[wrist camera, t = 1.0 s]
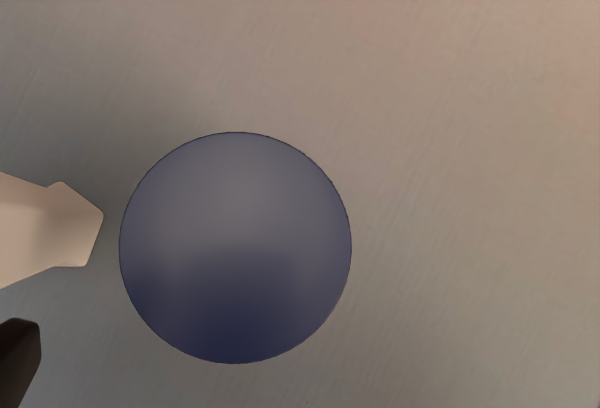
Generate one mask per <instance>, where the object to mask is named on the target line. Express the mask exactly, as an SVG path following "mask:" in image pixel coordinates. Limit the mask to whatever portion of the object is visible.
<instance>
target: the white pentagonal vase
mask: <svg viewBox="0 0 600 408" xmlns="http://www.w3.org/2000/svg"><path fill="white" fill-rule="evenodd" d="M103 218H104V215H103V212H102V211H101V210H100V209H98V208H97V207H96V206H94V205H93V204H92V203H90V202H89V201H88V200H86V199H85V198H84V197H82V196H81V195H80V194H78V193H77V192H76V191H74V190H73V189H72V188H70V187H69V186H68V185H66V184H65V183H63V182H56V183H54V184H52V185H50V186H48V187H46V188H45V187H42V186H39V185H36V184H33V183H30V182H28V181H25V180H22V179H19V178H16V177H13V176H10V175H8V174H5V173H2V172H0V289H1V288H3V287H6V286H8V285H10V284H13V283H15V282H18V281H20V280H22V279H25V278H27V277H29V276H32V275H34V274H37V273H39V272H41V271H44V270H46V269H48V268H51V267H53V266H63V267H81V266H84V265H86V263H87V262H88V259H89V256H90V254H91V251H92V248H93V246H94V243H95V240H96V238H97V235H98V232H99V230H100V227H101V224H102V222H103Z"/></svg>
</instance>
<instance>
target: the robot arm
mask: <svg viewBox="0 0 600 408" xmlns="http://www.w3.org/2000/svg"><path fill="white" fill-rule="evenodd" d="M40 361H41V343H40V330H39V326H38V324H37V323H35V322H33V321H29V320H25V319H21V318H11V319H8V320H6V321H5V322H3V323H1V324H0V408H18V407H19V405H20V403H21V401H22V399H23V397H24V395H25V393H26V391H27V389H28V387H29V385H30V383H31V381H32V379H33V377H34V375H35V373H36V371H37V369H38V367H39V364H40Z"/></svg>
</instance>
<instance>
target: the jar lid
mask: <svg viewBox="0 0 600 408" xmlns="http://www.w3.org/2000/svg"><path fill="white" fill-rule="evenodd" d="M351 254H352V245H351V232H350V225H349V220H348V216H347V213H346V210H345V207H344V205H343V202H342V200H341V198H340V195H339V194H338V192H337V190H336V189H335V187H334V185H333V183H332V181H331V180H330V179H329V178H328V177H327V175H326V174H325V173H324V172H323V170H322V169H321V168H320V167H319V166H318V165H317V164H316V163H315V162H314V161H312V160H311V159H310V158H309V157H307V156H306V155H305V154H304V153H302V152H301V151H299V150H298V149H296V148H294V147H292V146H290V145H289V144H287V143H285V142H282V141H280V140H277V139H275V138H272V137H270V136H264V135H261V134H255V133H247V132H225V133H217V134H211V135H208V136H204V137H200V138H197V139H195V140H192V141H190V142H187V143H185V144H183V145H181V146H180V147H178V148H176V149H174V150H173V151H171V152H170V153H168V154H167V155H166V156H164V157H163V158H162V159H160V160H159V161H158V162H157V163H156V164H155V165H154V166H153V167H152V168H151V169H150V170H149V171H148V172H147V173H146V175H145V176H144V177H143V178H142V180H141V181H140V182H139V184H138V185H137V187H136V189H135V191H134V192H133V194H132V196H131V198H130V200H129V202H128V205H127V207H126V210H125V212H124V216H123V220H122V223H121V228H120V236H119V262H120V269H121V274H122V278H123V281H124V285H125V288H126V290H127V293H128V295H129V297H130V300H131V302H132V303H133V305H134V307H135V308H136V310H137V312H138V313H139V315H140V316H141V317H142V319H143V320H144V321H145V322H146V324H147V325H148V326H149V327H150V328H151V329H152V330H153V331H154V332H155V333H156V334H157V335H158V336H159V337H160V338H162V339H163V340H164V341H166V342H167V343H169V344H170V345H171V346H173V347H175V348H177V349H178V350H180V351H182V352H184V353H186V354H188V355H191V356H194V357H196V358H199V359H202V360H207V361H211V362H215V363H226V364H245V363H252V362H258V361H263V360H266V359H269V358H272V357H276V356H278V355H280V354H282V353H285V352H287V351H289V350H291V349H292V348H294V347H296V346H297V345H299V344H300V343H302V342H303V341H305V340H306V339H307V338H308V337H310V336H311V335H312V334H313V333H314V332H315V331H316V330H317V329H318V328H319V327H320V326H321V325H322V324H323V323H324V322H325V321H326V319H327V318H328V316H329V315H330V314H331V312H332V311H333V310H334V308H335V306H336V304H337V302H338V300H339V299H340V297H341V295H342V292H343V289H344V287H345V284H346V281H347V277H348V273H349V269H350V263H351Z"/></svg>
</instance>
